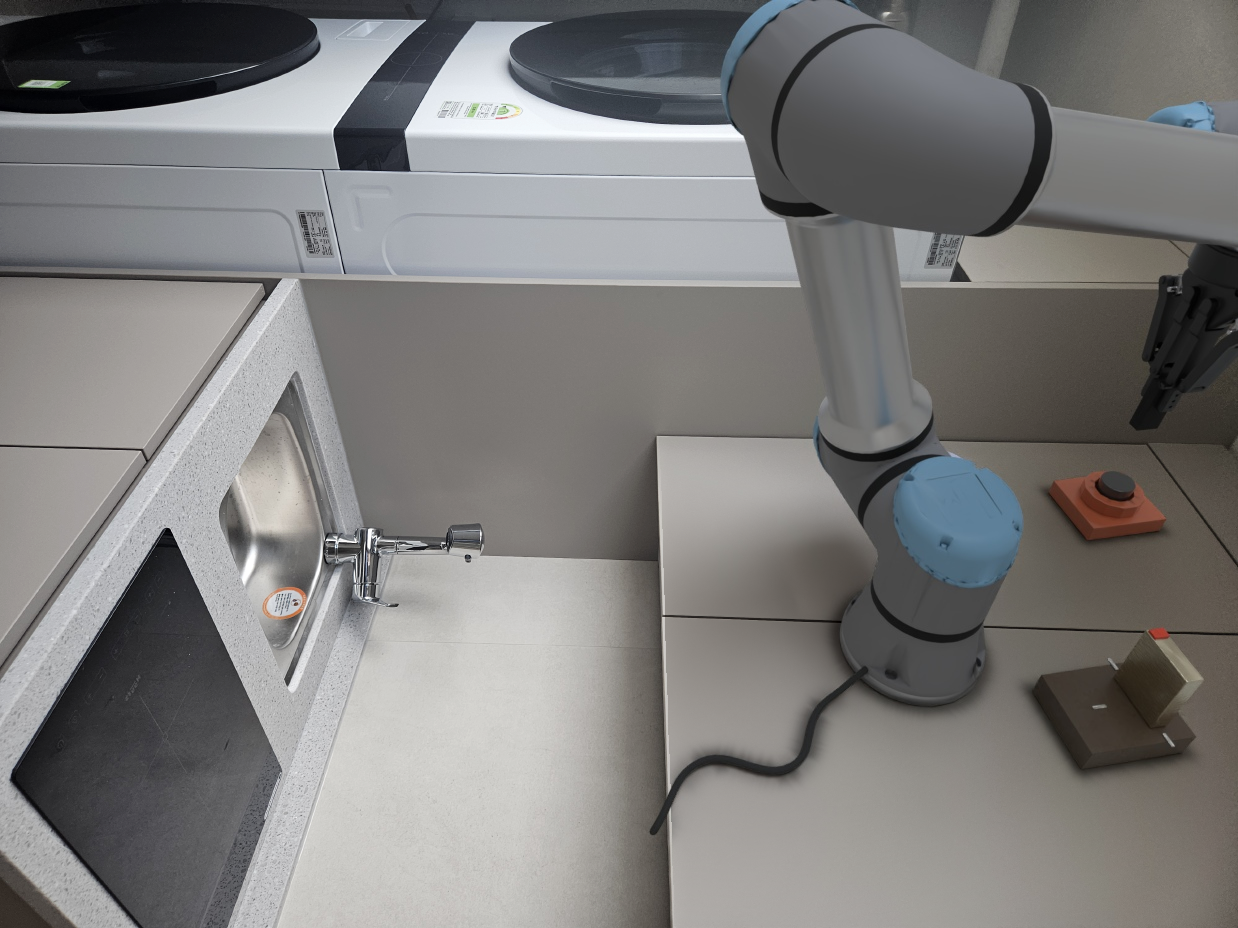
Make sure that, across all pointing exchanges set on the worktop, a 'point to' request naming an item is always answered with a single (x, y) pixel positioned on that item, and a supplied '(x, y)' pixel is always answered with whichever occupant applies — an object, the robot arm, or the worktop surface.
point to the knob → (1157, 677)
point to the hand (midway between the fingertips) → (1143, 425)
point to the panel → (1104, 719)
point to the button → (1116, 486)
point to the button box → (1105, 509)
